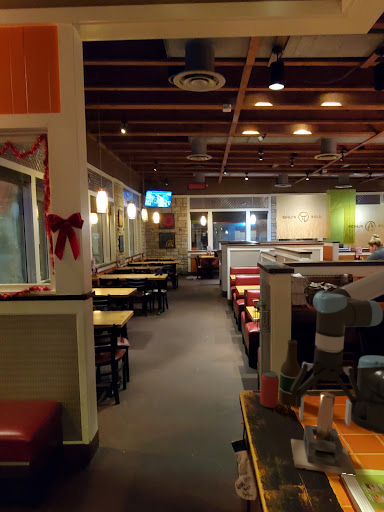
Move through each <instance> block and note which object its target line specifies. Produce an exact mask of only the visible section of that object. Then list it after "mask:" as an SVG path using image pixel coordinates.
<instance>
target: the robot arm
mask: <svg viewBox="0 0 384 512" xmlns="http://www.w3.org/2000/svg"><path fill="white" fill-rule="evenodd" d="M382 295H384V268H383V269H381V270H378V271H376V272H374V273H371V274H369V275H366V276H364V277H362V278H359V279H357V280H355V281H352V282H351V283H348V284H346V285H343V286H341V287H339V288H336V289H334V290H332V291H329V290H320V291H317V292H316V293H315V294H314V296H313V299H312V305H313V307H314V309H315V310H316V328H315V329H316V330H315V339H314V340H315V341H314V345H315V347H314V353H313V354H314V355H313V362H311V363H309V362H307V361H305V360H303V361H302V363H301V367H300V368H301V370H300V372H299V374H298V375H297V377H296V379H295V381H294V383H293V384H292V386H291V388H290V390H291V393H292V394H295V395H296V407H297V408H298V409H299V410H298V416H299V420H300V421H303V420H304V408H305V406H304V405H305V404H304V403H305V396H304V394H306V393H307V392H308V390H309V389H311V388H312V387H313V385H315V383H318V381H319V380H321V381H326V382H327V381H329V382H333V383H334V381H335V382H337V384H338V385H339V387H340V388H341V390H342V391H343V392H344V393H345V395H346V396H347V399H345V400H346V403H345V413H344V414H345V415H344V422H345V425H346V427H350V426H351V421H352V422H353V423H354V424H356V425H357V426H359V427H361V428H362V429H366V430H367V431H371V432H375V433H383V434H384V356H383V355H373V354H371V355H363V356H360V358H359V359H358V366H357V374H356V375H357V378H355V370H354V368H353V367H352V365H348V366H343V357H344V352H343V350H344V342H345V341H344V340H345V333H346V332H345V331H346V328H361V327H363V328H364V327H366V328H370V327H374V326H377V325H379V324H381V322H382V321H383V317H384V311H383V308H382V307H381V304H380V303H378V302H377V301H375V300H373V299H376V298H379V297H380V296H382ZM311 369H312V370H313V372H312V373H311V375H310V376H309V377H308V378H307V380H305V377H306V375H307V372H309V371H310V370H311ZM343 373H344V374H345V375H346V376H347V377H348V379H349V382H350V384H351V388H352V390H353V392H354V394H355V395H353V394H352V392H351V391H350V390H349V388H348V387H347V386H346V384H345V383H344V381H343V380H342V378H341V377H340V376H341V375H342V374H343ZM303 380H305V381H304V382H303ZM302 382H303V383H302ZM299 386H300V388H299ZM298 388H299V389H298ZM297 389H298V390H297Z"/></svg>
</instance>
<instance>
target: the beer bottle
mask: <svg viewBox="0 0 384 512" xmlns="http://www.w3.org/2000/svg"><path fill="white" fill-rule="evenodd" d="M297 345H298V341H297V340H295V339H288V341H287V352H286V358H285V360H284V362H283V363H282V365H281V367H280V374H279V388H278V400H279V401H280V402H281V403H282V404H285V405H288V406H295V405H296V395H295V394H292V393H291V390H290V388H291V386H292V384H293V383H294V381H295V379H296V377H297V375H298V374H299V372H300V370H301V368H302V367H301V366H300V364H299V362H298V358H297V357H298V355H297V354H298V353H297V351H298V350H297V349H298V348H297ZM300 387H301V385H300V386H299V388H300ZM299 388H298V389H299ZM298 389H297V390H298ZM296 406H297V405H296Z"/></svg>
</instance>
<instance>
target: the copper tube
mask: <svg viewBox="0 0 384 512" xmlns="http://www.w3.org/2000/svg"><path fill="white" fill-rule="evenodd" d="M335 401H336V396H335V395H334V394H333V393H330V392H327V391H322V392H320V394H319V404H318V414H317V422H316V426H317V432H316V436H315V439H318V440H325V441H331V432H332V428H333V420H334V419H333V418H334V411H335ZM315 453H321V454H328V455H329V452H327V451H320V450H315Z"/></svg>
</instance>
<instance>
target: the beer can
mask: <svg viewBox="0 0 384 512" xmlns="http://www.w3.org/2000/svg"><path fill="white" fill-rule="evenodd" d="M279 388H280V377H279V376H278V373H277V372H276V371H272V370H264V371H263V372H262V376H261V378H260V390H259V391H260V394H259V395H260V396H259V397H260V398H259V403H260V404H261V405H262V406H263V407H265V408H269V409H273V408H275V407H277V406H278V404H279V403H278V402H279V401H278V400H279Z"/></svg>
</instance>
